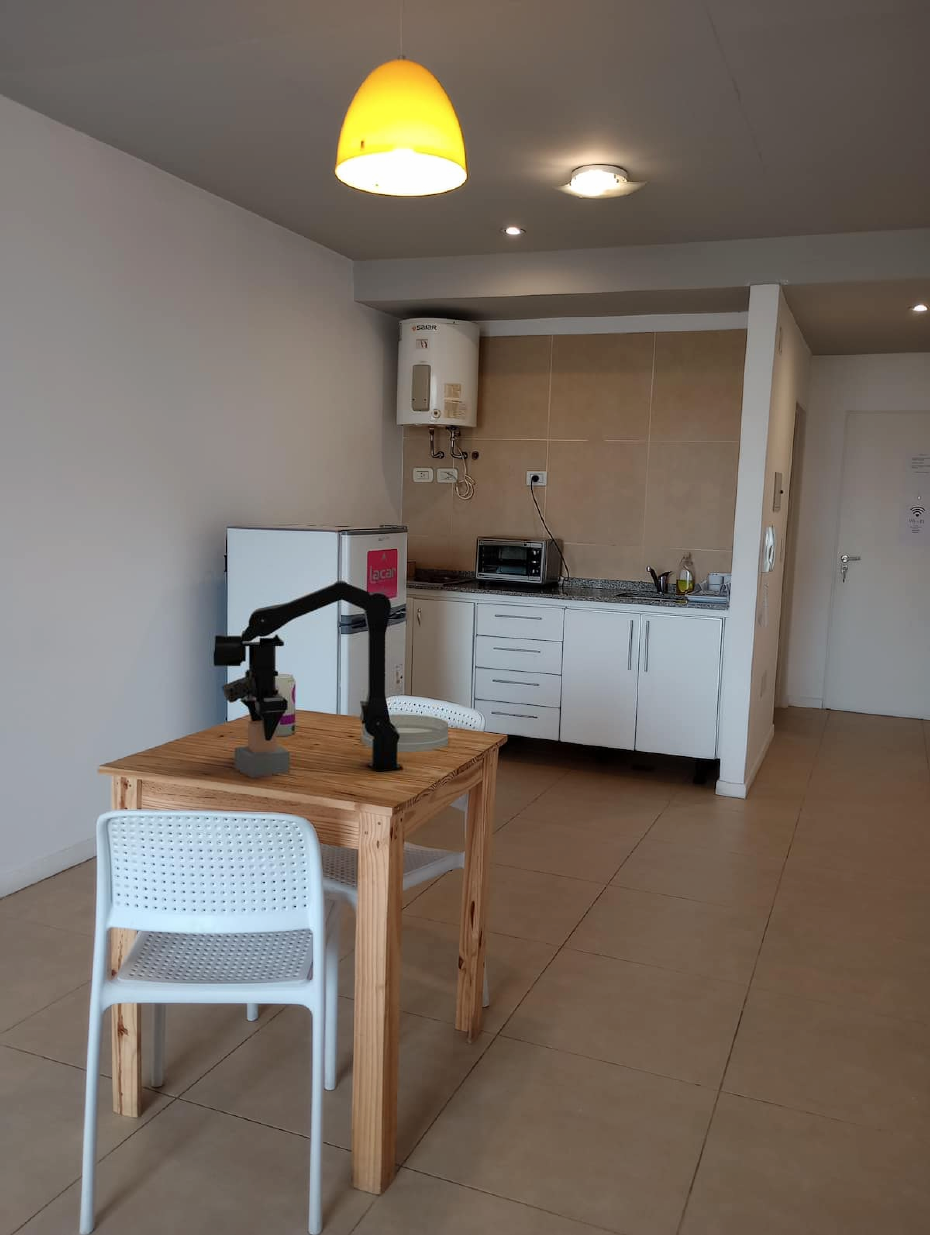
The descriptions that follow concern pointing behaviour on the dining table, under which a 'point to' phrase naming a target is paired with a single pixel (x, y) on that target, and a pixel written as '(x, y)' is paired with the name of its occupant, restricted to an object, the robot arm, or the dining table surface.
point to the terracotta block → (259, 738)
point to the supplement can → (287, 690)
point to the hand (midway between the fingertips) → (262, 736)
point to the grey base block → (261, 761)
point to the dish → (415, 733)
